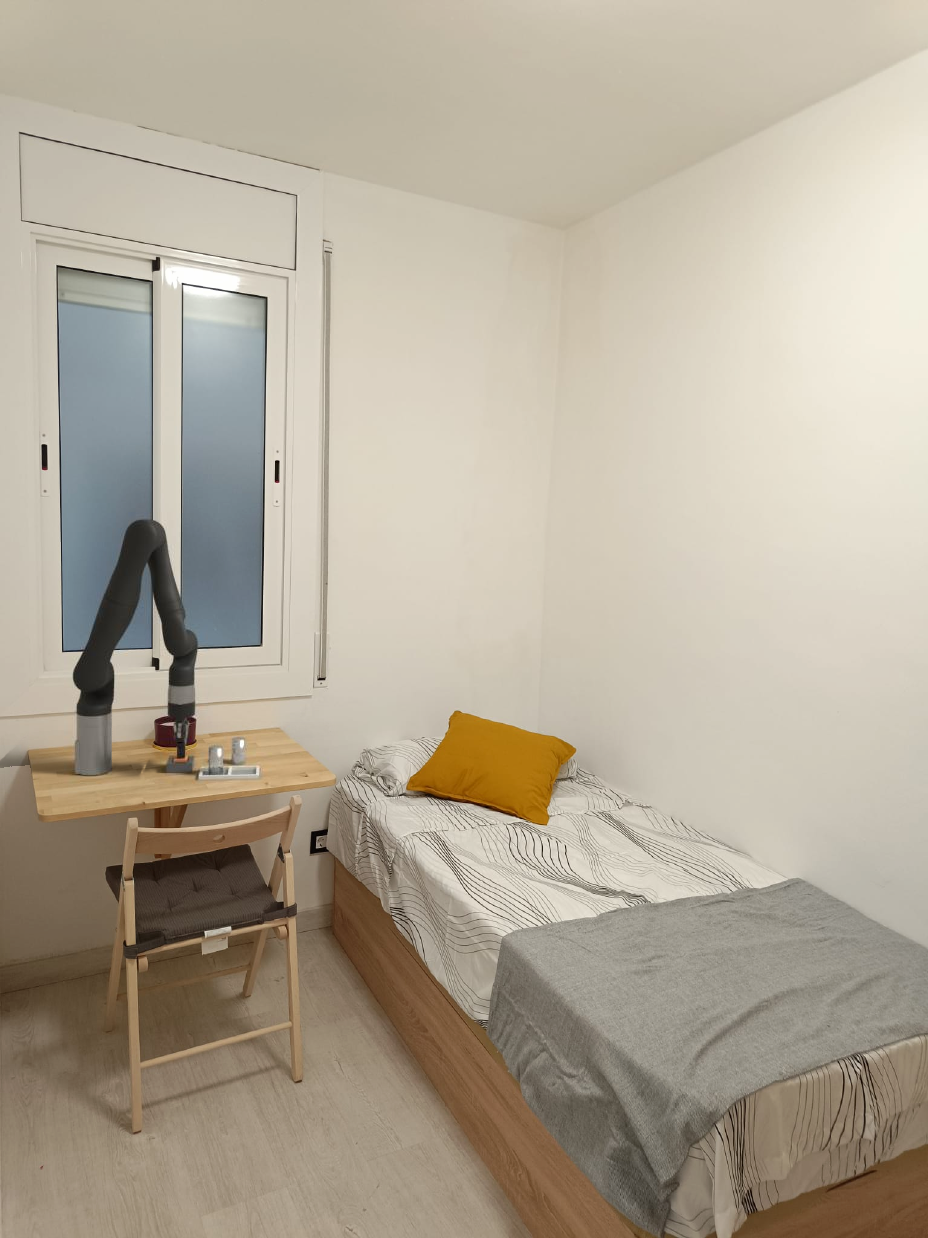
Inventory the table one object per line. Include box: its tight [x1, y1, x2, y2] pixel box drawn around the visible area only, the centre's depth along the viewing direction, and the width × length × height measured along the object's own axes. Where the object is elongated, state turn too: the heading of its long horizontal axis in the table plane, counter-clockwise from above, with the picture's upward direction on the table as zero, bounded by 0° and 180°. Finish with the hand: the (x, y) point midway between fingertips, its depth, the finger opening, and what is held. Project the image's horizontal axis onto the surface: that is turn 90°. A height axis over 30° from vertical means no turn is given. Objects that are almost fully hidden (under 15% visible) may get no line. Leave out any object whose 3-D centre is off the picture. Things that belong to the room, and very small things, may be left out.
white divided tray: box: [196, 765, 262, 782], centre depth 240 cm, size 17×10×2 cm, turn 103°
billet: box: [230, 736, 247, 766], centre depth 250 cm, size 4×4×8 cm
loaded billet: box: [207, 745, 224, 775], centre depth 239 cm, size 4×4×8 cm
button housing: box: [165, 755, 195, 774], centre depth 242 cm, size 7×7×4 cm
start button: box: [173, 755, 189, 762], centre depth 242 cm, size 4×4×2 cm
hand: (181, 757), depth 242 cm, fingers closed
